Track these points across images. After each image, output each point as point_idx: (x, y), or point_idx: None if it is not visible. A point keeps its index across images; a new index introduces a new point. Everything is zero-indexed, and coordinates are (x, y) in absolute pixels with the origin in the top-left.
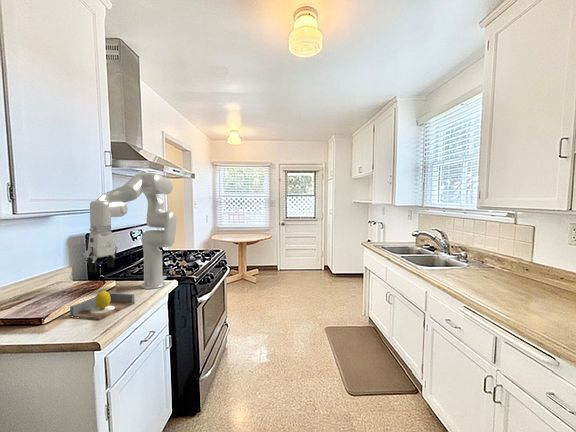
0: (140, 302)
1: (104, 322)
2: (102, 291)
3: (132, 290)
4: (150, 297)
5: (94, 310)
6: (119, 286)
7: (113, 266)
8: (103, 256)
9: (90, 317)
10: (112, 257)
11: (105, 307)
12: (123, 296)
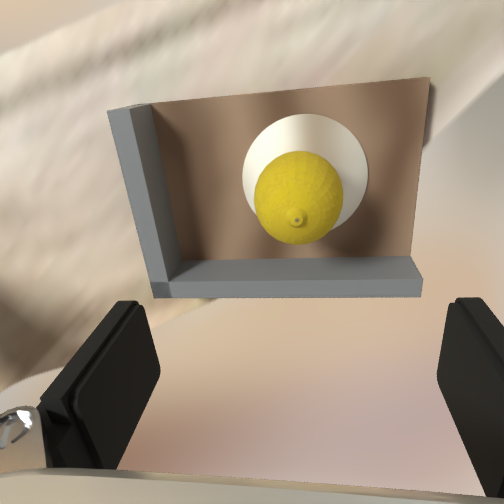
0: (104, 85)
1: (458, 7)
2: (304, 215)
3: (3, 287)
4: (13, 97)
5: None
6: (7, 376)
7: (131, 303)
8: (421, 495)
9: (420, 147)
10: (48, 434)
11: None
12: (150, 176)
